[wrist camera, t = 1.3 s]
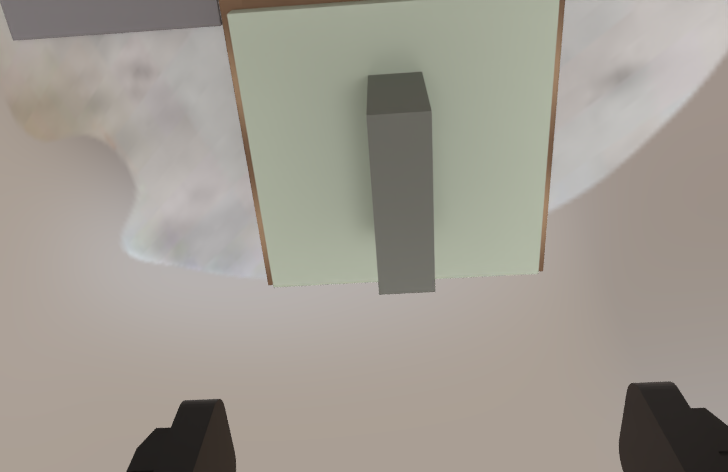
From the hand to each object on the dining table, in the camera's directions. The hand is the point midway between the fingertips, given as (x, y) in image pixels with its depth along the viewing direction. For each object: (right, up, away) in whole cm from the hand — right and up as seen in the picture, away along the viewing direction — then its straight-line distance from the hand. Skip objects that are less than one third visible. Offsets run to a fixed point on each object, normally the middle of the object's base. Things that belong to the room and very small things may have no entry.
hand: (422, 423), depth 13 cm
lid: (+1, +8, +19) cm, 21 cm away
